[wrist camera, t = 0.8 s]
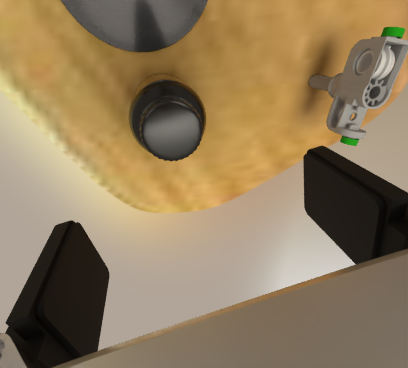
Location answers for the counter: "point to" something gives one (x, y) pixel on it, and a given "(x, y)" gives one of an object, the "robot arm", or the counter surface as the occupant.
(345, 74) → the mechanical component
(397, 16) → the counter surface
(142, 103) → the supplement bottle
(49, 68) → the counter surface
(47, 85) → the counter surface
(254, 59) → the counter surface
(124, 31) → the plate
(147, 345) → the robot arm
